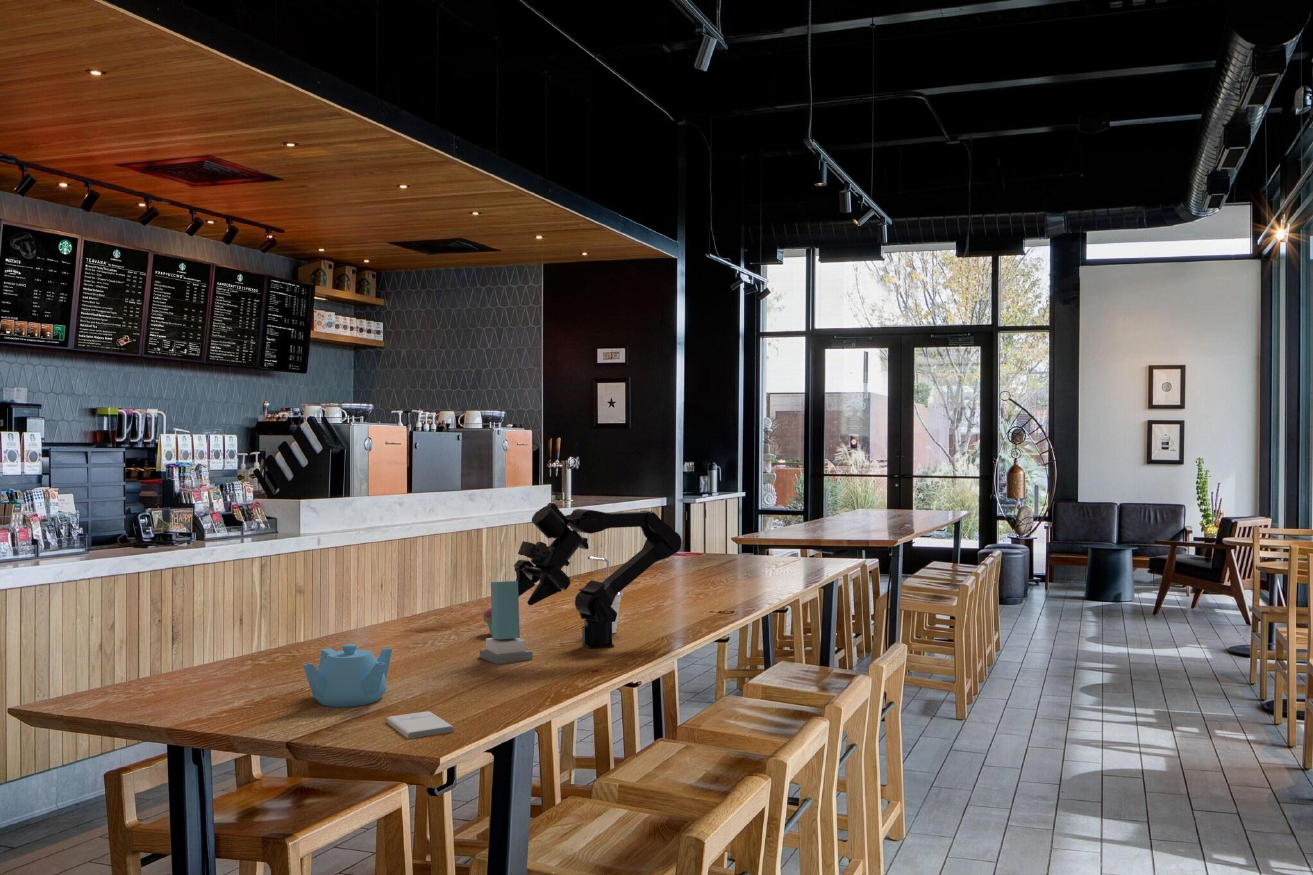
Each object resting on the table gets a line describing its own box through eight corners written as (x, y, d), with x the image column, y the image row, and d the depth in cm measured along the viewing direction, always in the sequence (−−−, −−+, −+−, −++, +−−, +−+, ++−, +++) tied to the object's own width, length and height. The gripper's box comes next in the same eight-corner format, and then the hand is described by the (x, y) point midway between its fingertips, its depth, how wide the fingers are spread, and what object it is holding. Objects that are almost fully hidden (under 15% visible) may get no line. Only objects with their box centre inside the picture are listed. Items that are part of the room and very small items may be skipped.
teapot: (396, 689, 216) (396, 636, 216) (385, 707, 201) (385, 650, 201) (318, 691, 214) (318, 638, 214) (302, 710, 199) (301, 653, 199)
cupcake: (499, 638, 271) (499, 591, 271) (476, 634, 276) (476, 588, 276) (523, 633, 278) (522, 587, 278) (500, 629, 283) (500, 584, 283)
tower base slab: (514, 655, 252) (514, 645, 252) (532, 662, 245) (532, 651, 245) (479, 660, 247) (479, 649, 247) (496, 667, 240) (496, 656, 240)
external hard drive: (407, 742, 180) (386, 725, 191) (454, 735, 184) (430, 718, 195) (407, 732, 180) (386, 716, 191) (454, 725, 184) (430, 709, 195)
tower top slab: (513, 646, 251) (513, 635, 251) (525, 651, 245) (525, 640, 245) (485, 649, 248) (485, 638, 248) (496, 654, 242) (496, 643, 242)
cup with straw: (620, 635, 274) (620, 557, 274) (586, 634, 275) (586, 557, 275) (626, 629, 282) (626, 554, 282) (593, 628, 284) (593, 553, 284)
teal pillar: (512, 636, 250) (511, 581, 251) (519, 637, 245) (517, 580, 247) (492, 638, 248) (490, 582, 249) (498, 639, 243) (497, 582, 245)
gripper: (520, 526, 259) (479, 575, 253) (558, 531, 243) (515, 584, 237) (549, 556, 263) (509, 605, 257) (588, 563, 248) (547, 615, 242)
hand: (519, 601), depth 248 cm, fingers open, 9 cm apart
